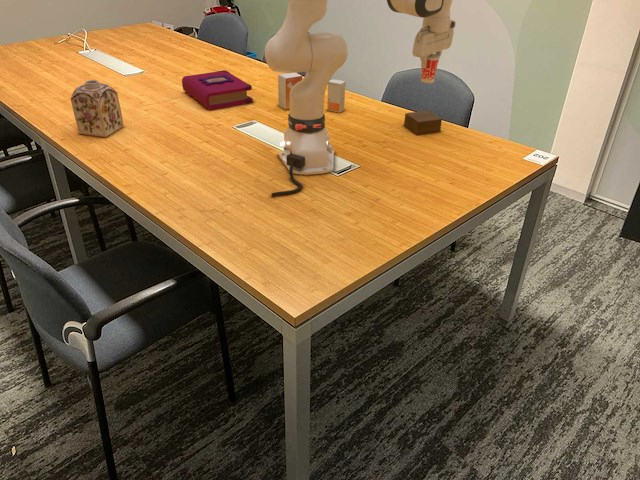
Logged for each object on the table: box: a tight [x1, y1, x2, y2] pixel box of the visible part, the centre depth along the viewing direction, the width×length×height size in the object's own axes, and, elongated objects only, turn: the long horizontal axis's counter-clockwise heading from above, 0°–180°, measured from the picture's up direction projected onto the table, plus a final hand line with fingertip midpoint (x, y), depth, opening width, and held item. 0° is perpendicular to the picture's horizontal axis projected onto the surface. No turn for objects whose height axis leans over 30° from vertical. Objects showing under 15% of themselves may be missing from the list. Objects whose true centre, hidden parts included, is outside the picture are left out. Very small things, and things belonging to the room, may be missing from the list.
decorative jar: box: [70, 79, 125, 138], centre depth 189 cm, size 12×12×18 cm
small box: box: [277, 72, 303, 110], centre depth 216 cm, size 8×6×13 cm
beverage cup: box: [420, 53, 441, 84], centre depth 186 cm, size 6×6×14 cm
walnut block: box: [403, 110, 443, 136], centre depth 199 cm, size 10×10×5 cm
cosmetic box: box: [326, 78, 347, 114], centre depth 213 cm, size 6×4×12 cm
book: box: [181, 69, 254, 111], centre depth 225 cm, size 21×28×8 cm
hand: (429, 65), depth 187 cm, fingers closed on beverage cup, 6 cm apart
